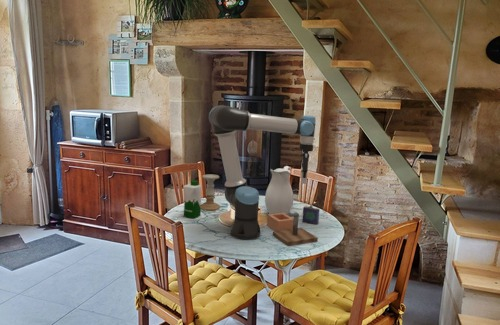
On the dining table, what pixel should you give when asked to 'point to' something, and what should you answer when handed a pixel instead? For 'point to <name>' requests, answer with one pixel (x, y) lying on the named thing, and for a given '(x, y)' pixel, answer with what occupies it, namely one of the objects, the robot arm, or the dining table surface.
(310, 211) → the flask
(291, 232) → the hook peg board
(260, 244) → the dining table surface
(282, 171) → the pitcher
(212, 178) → the candle holder
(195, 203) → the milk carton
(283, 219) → the orange square ring
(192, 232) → the dining table surface
